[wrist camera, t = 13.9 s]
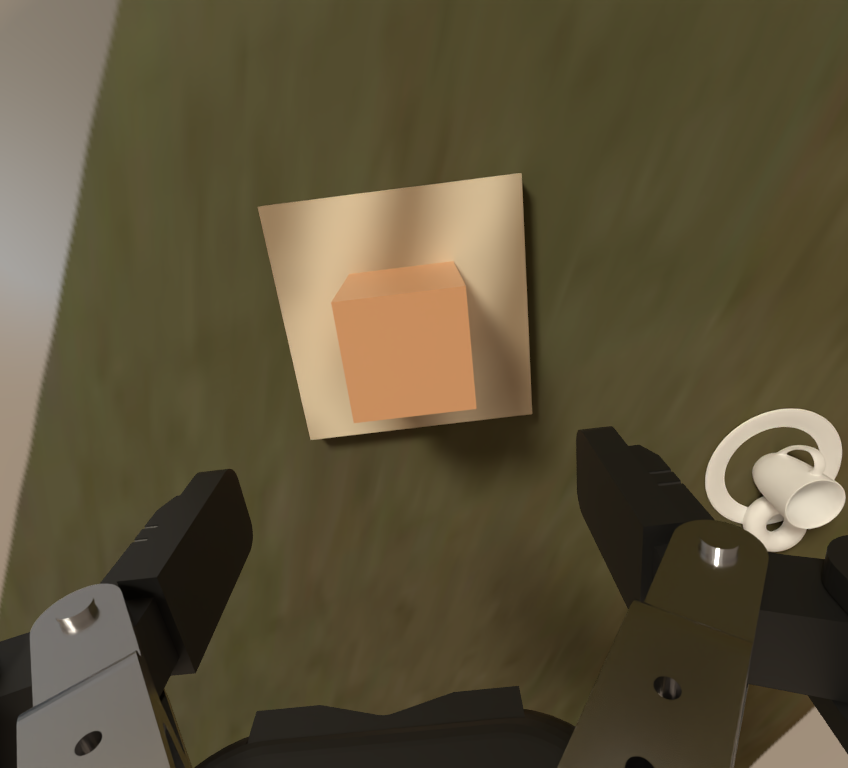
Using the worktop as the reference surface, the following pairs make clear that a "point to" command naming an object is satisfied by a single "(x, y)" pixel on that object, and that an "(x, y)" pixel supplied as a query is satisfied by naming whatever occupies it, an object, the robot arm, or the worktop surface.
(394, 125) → the worktop surface
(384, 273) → the salmon cube
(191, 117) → the worktop surface
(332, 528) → the worktop surface
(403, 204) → the post base
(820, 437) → the white ring and cup
